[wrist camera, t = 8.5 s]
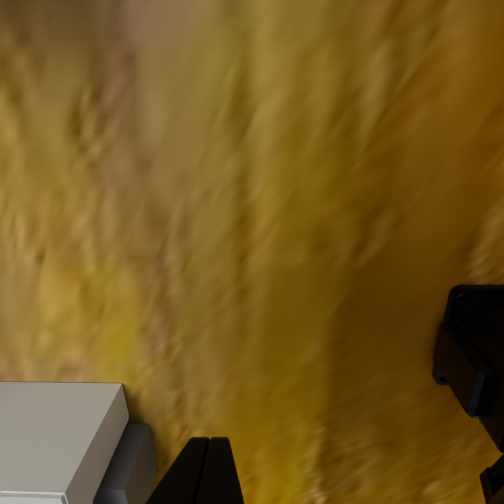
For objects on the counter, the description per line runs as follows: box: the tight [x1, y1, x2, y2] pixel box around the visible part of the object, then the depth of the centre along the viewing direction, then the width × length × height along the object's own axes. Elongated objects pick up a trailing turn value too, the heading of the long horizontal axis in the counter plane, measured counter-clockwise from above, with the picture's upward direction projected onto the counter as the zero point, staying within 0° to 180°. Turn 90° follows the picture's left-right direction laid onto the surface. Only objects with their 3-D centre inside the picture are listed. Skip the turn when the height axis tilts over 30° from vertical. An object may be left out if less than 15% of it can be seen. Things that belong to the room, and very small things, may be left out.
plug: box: [92, 424, 158, 504], centre depth 24 cm, size 6×5×5 cm
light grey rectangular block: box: [0, 382, 129, 504], centre depth 22 cm, size 9×12×7 cm
